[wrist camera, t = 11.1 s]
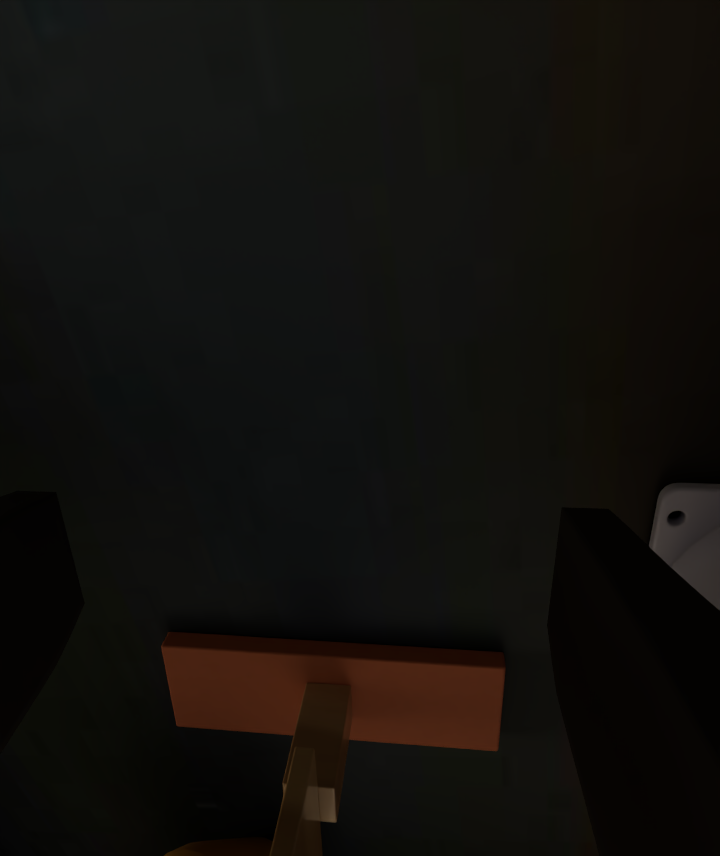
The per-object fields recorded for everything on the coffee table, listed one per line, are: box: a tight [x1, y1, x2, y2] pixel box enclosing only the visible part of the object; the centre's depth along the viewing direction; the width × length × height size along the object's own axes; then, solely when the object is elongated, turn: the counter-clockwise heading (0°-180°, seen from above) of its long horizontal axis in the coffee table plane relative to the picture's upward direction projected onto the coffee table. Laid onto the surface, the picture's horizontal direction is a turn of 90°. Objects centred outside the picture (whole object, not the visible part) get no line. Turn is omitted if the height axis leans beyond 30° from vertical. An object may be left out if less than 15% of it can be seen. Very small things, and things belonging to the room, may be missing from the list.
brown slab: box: [270, 683, 352, 856], centre depth 21 cm, size 5×2×8 cm, turn 1°
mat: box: [161, 632, 506, 751], centre depth 25 cm, size 4×12×1 cm, turn 91°
